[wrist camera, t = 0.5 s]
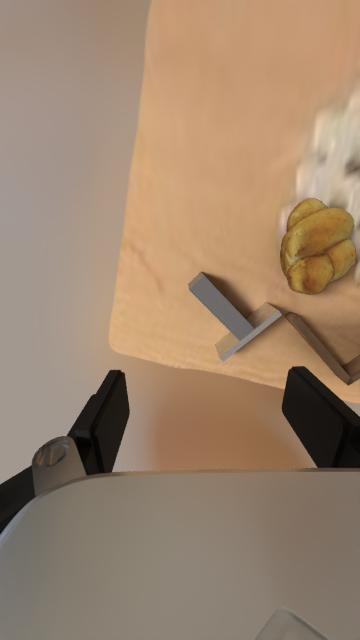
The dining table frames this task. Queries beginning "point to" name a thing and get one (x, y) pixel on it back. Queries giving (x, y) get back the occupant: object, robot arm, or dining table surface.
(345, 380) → the walnut frame
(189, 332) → the dining table surface
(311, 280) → the bread roll
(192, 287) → the grey t-shaped block
